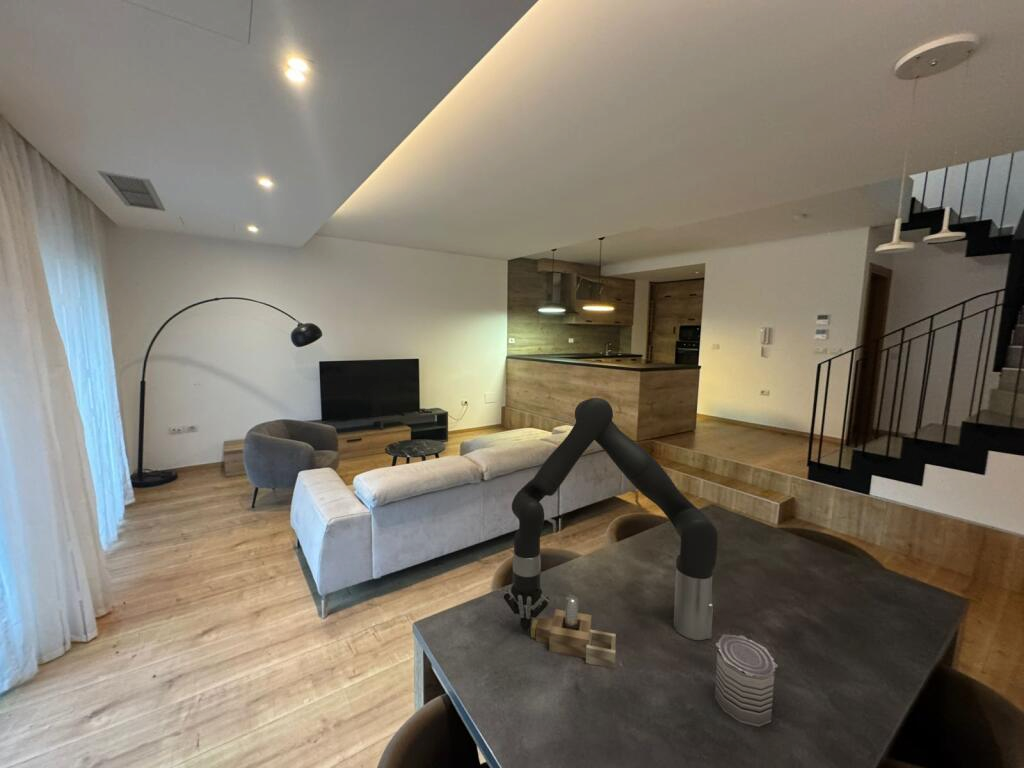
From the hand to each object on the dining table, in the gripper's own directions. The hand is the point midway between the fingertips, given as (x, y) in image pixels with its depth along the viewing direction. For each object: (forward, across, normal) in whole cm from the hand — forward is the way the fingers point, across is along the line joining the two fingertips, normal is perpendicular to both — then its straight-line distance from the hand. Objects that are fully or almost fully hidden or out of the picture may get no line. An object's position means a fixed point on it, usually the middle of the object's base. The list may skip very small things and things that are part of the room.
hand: (525, 628), depth 112 cm
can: (+1, -51, +9) cm, 52 cm away
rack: (+1, -20, +3) cm, 21 cm away
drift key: (+1, -6, 0) cm, 6 cm away
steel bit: (+1, -12, 0) cm, 12 cm away
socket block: (+1, -10, 0) cm, 10 cm away
